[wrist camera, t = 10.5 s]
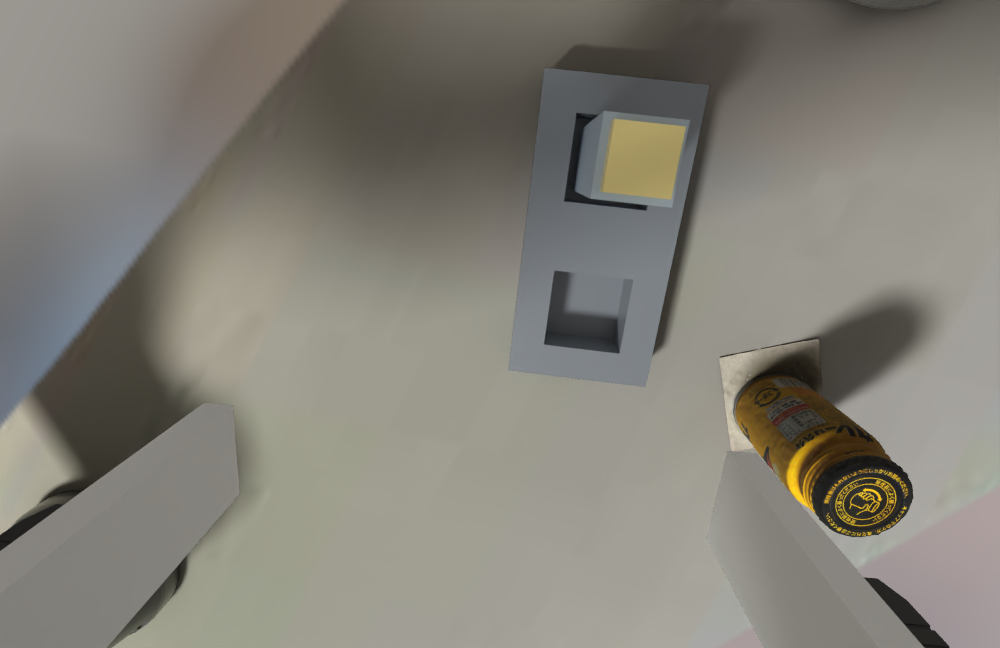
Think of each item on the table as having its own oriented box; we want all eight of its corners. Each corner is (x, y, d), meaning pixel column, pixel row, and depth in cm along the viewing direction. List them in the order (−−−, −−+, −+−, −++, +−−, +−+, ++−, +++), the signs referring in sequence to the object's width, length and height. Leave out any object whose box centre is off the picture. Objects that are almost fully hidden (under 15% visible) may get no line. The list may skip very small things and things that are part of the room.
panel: (510, 353, 39) (508, 370, 36) (543, 77, 33) (544, 67, 30) (635, 368, 39) (645, 387, 36) (691, 93, 33) (709, 84, 30)
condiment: (730, 450, 41) (808, 559, 29) (718, 357, 39) (797, 436, 27) (823, 434, 40) (941, 540, 28) (816, 337, 38) (941, 410, 26)
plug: (572, 190, 35) (592, 199, 23) (580, 129, 34) (607, 108, 22) (628, 196, 35) (678, 209, 23) (639, 135, 34) (697, 117, 22)
